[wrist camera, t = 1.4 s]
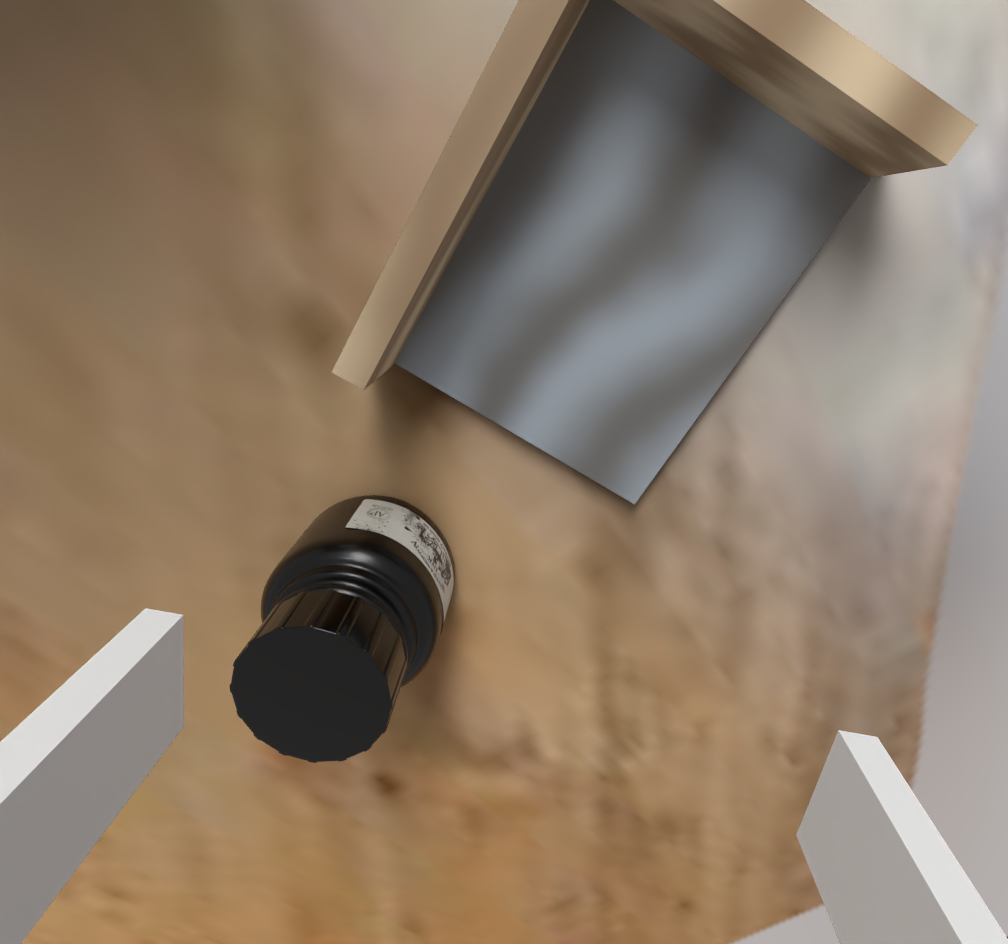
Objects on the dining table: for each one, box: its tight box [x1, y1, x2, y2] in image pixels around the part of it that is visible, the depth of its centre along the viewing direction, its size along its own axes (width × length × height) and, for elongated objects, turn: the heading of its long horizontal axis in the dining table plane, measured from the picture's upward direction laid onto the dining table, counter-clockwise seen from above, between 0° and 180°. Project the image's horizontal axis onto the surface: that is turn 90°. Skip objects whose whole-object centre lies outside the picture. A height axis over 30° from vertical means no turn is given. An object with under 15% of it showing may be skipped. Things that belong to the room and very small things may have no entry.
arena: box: [332, 0, 977, 504], centre depth 29 cm, size 16×20×7 cm
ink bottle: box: [230, 495, 454, 763], centre depth 34 cm, size 10×9×12 cm
